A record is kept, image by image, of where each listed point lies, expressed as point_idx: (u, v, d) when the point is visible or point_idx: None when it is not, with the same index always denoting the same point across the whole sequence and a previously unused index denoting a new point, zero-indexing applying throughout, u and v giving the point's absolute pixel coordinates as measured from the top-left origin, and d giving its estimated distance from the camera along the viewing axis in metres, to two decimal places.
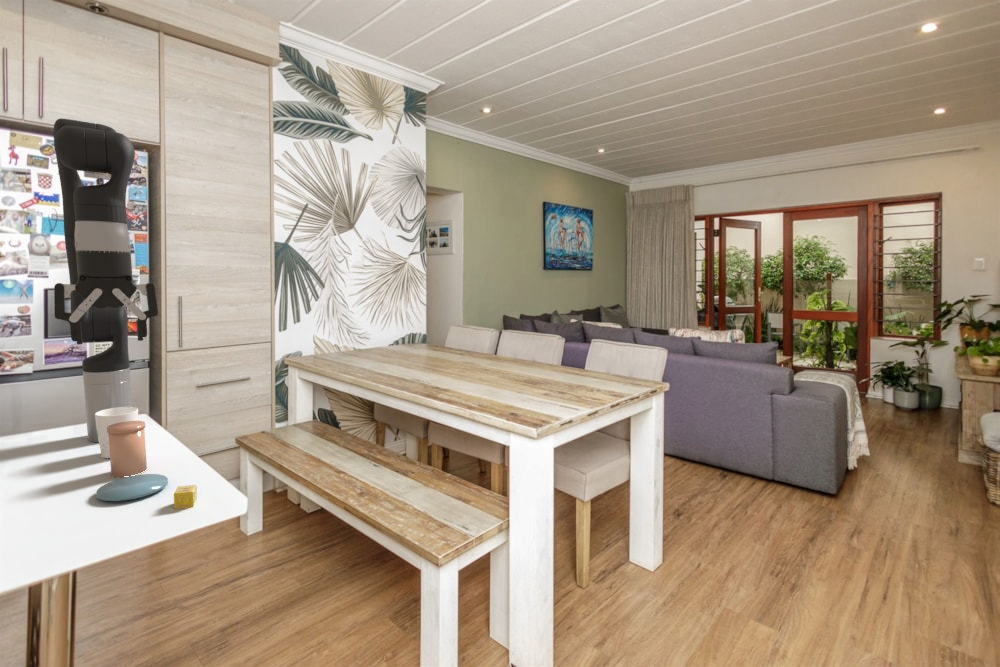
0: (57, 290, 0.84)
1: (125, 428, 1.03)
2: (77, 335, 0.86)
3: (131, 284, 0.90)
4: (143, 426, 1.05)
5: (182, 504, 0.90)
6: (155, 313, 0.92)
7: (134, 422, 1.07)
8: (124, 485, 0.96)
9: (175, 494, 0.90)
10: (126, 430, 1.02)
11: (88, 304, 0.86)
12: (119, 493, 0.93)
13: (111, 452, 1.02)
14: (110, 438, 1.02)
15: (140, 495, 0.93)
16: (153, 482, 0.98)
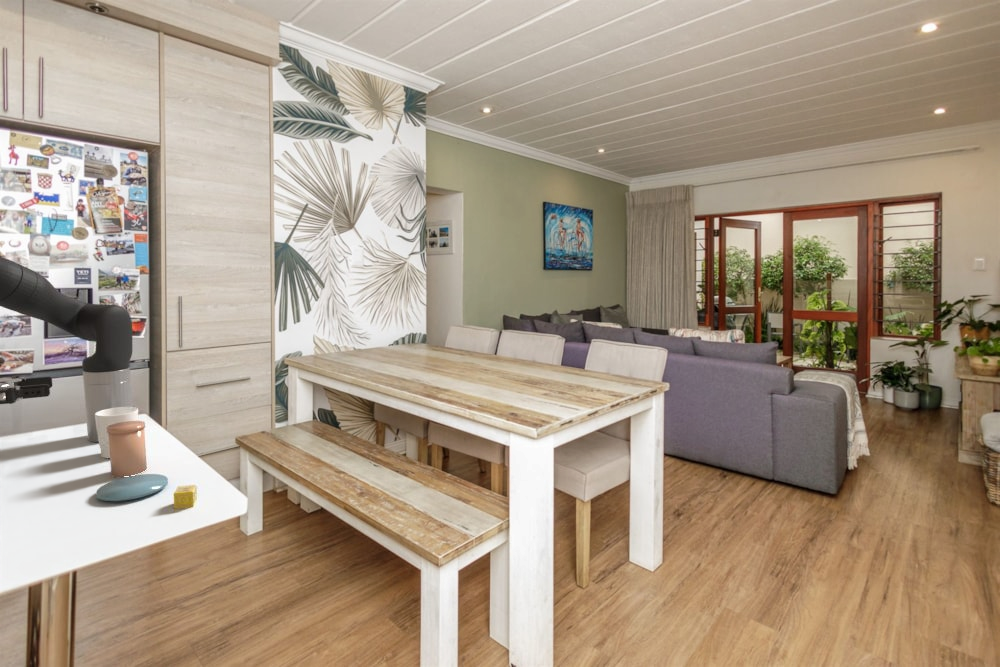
0: None
1: (125, 428, 1.03)
2: None
3: None
4: (143, 426, 1.05)
5: (182, 504, 0.90)
6: (11, 403, 0.88)
7: (134, 422, 1.07)
8: (124, 485, 0.96)
9: (175, 494, 0.90)
10: (126, 430, 1.02)
11: None
12: (119, 493, 0.93)
13: (111, 452, 1.02)
14: (110, 438, 1.02)
15: (140, 495, 0.93)
16: (153, 482, 0.98)
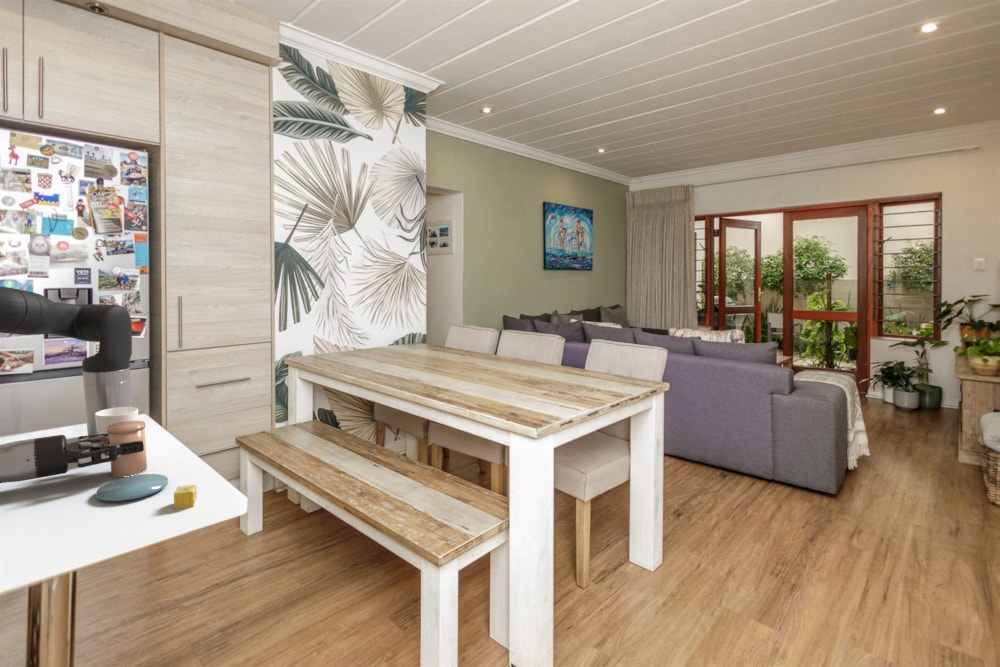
0: None
1: (125, 428, 1.03)
2: None
3: (76, 462, 0.97)
4: (143, 426, 1.05)
5: (182, 504, 0.90)
6: None
7: (134, 422, 1.07)
8: (124, 485, 0.96)
9: (175, 494, 0.90)
10: (126, 430, 1.02)
11: None
12: (119, 493, 0.93)
13: None
14: (110, 438, 1.02)
15: (140, 495, 0.93)
16: (153, 482, 0.98)
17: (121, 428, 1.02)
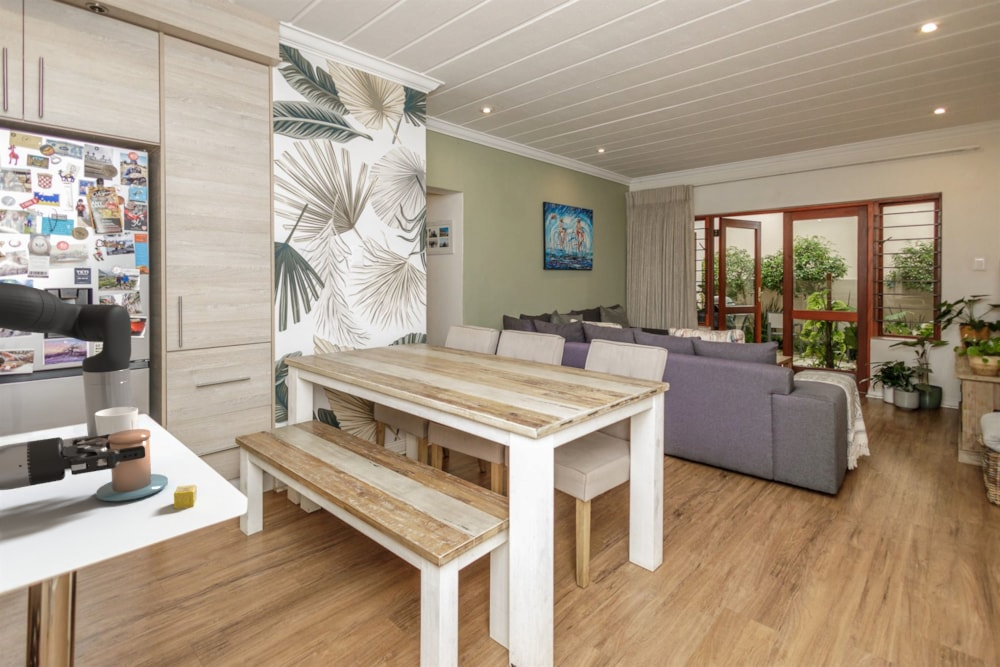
0: None
1: (128, 438, 0.93)
2: None
3: None
4: (148, 435, 0.96)
5: (182, 504, 0.90)
6: (112, 468, 0.89)
7: (138, 431, 0.97)
8: None
9: (175, 494, 0.90)
10: (129, 440, 0.93)
11: None
12: (119, 493, 0.93)
13: None
14: (112, 449, 0.93)
15: (140, 495, 0.93)
16: (153, 482, 0.98)
17: (124, 438, 0.93)
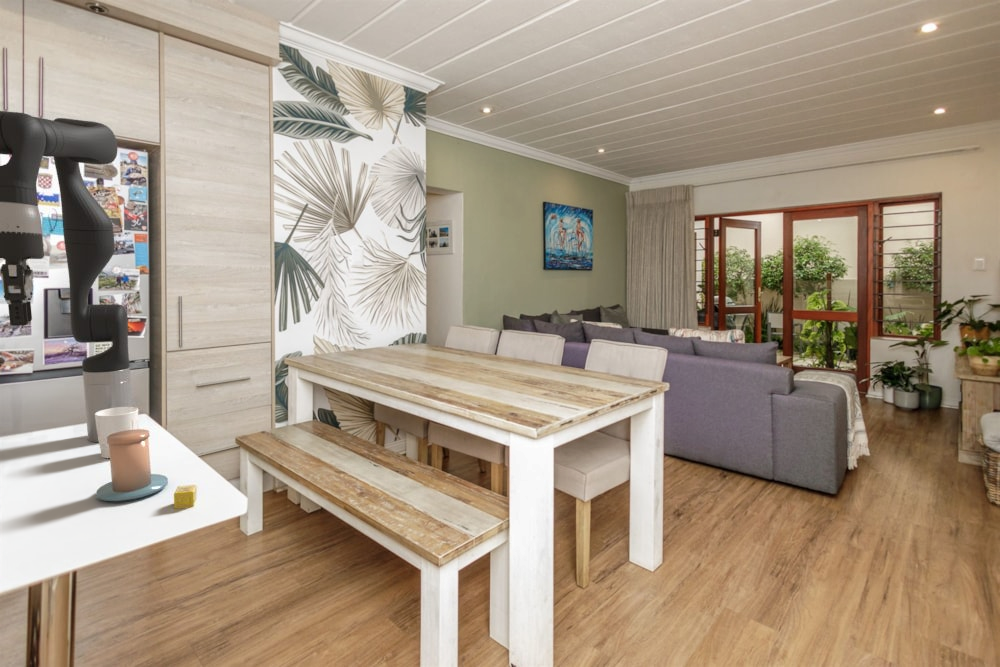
0: None
1: (127, 438, 0.93)
2: None
3: None
4: (147, 435, 0.96)
5: (182, 504, 0.90)
6: (4, 297, 0.84)
7: (137, 431, 0.97)
8: None
9: (175, 494, 0.89)
10: (129, 440, 0.93)
11: None
12: (119, 493, 0.93)
13: (112, 464, 0.93)
14: (111, 449, 0.93)
15: (140, 495, 0.93)
16: (153, 482, 0.98)
17: (123, 438, 0.93)
